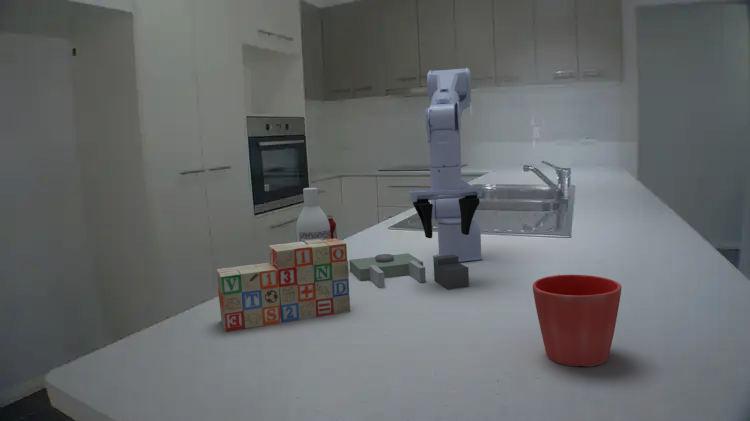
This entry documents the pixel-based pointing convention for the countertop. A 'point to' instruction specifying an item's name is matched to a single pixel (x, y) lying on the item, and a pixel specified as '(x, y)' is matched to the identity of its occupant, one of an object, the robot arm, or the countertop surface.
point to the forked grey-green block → (387, 268)
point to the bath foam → (312, 219)
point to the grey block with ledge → (450, 272)
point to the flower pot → (577, 317)
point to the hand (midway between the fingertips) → (447, 235)
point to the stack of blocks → (286, 285)
